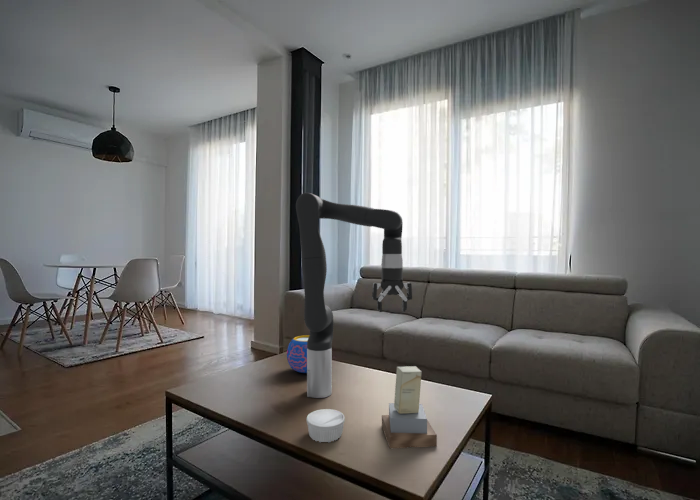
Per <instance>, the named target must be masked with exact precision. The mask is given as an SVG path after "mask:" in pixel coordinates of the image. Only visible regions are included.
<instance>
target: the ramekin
mask: <svg viewBox="0 0 700 500" xmlns="http://www.w3.org/2000/svg"><path fill="white" fill-rule="evenodd" d="M345 420H346V418H345V415H344V414H343V412H341V411H339V410H336V409H332V408H331V409H330V408H325V409H324V408H322V409H317V410H314V411H312V412H310V413H308V415H307V417H306V424H307V429H308V435H309V437H310V438H311V440H313V441H314V440H315V442H317V441H319V442H318V443H321V442H328V443H331V441H333V442H335V441H337V440H339V439H340V438H341V436H342V435H343V430H344V425H345V424H344V423H345ZM338 438H339V439H338ZM334 440H335V441H334Z"/></svg>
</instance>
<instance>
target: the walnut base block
mask: <svg viewBox="0 0 700 500" xmlns="http://www.w3.org/2000/svg"><path fill="white" fill-rule="evenodd" d="M381 427H382V430H383V433H384V435H385V439H386V442H387V444H388V447H389V449H390V448H393V449H407V447H413V448H425V447H427V448H429V447H431V446H432V447H437V445H438V437H437V436H438V435H437V433H436V431H435V429H434V428H433V427H432V425H431V423H430V421H429V420H428V419H427V434H426V433H391V430H390V421H389V414H383V415H381ZM428 446H429V447H428Z"/></svg>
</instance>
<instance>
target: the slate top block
mask: <svg viewBox="0 0 700 500" xmlns="http://www.w3.org/2000/svg"><path fill="white" fill-rule="evenodd" d="M425 411H426V410H425V409H424V406H423V403H419V412H418V413H404V414H399V413H398V412H397V410H396V409H395V408H394V402H389V403H388V415H389V421H390V430H391V433H426V434H427V420H428V418H427V415H426V412H425Z"/></svg>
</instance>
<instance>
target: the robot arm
mask: <svg viewBox="0 0 700 500" xmlns="http://www.w3.org/2000/svg"><path fill="white" fill-rule="evenodd" d="M295 209H296V210H295V211H296V215H297V221H298V227H299V228H298V229H299V236H300V238H299V240H300V258H301V271H302V281H303V291H304V312H303V318H304V319H303V321H304V323H305V327H306V328H307V329H308V330H309V334H308V335H309V338H308V341H307V373H306V397H307V398H313V399H314V398H315V399H324V398H327V397H330V396H331V395H332V393H333V389H332V388H333V387H332V385H333V384H332V383H333V382H332V379H333V378H332V377H333V376H332V375H333V372H332V368H333V367H332V364H333V363H332V361H333V360H332V359H333V358H332V355H333V354H332V352H333V351H332V350H333V349H332V347H333V346H332V343H333V339H334V313H333V311H332V309H331V308H330V306H328V305H326V303H325V292H324V291H325V285H326V280H327V279H326V278H327V273H328V271H327V270H328V269H327V267H328V266H327V265H328V264H327V255H326V249H325V246H324V242H323V239H322V237H321V234H320V228H319V219H320V220H321V219H325V220H327V219H328V220H336V221H341V222H344V223H345V222H346V223H348V224H352V225H353V224H354V225H358V226H363V227H371V228H372V227H373V228H377V229H383V240H382V244H381V245H382V246H381V247H382V251H381V253H382V255H381V265H380V266H381V282H380V283H377V282H373V283H372V290H371V291H372V292H371V298H372V299H373V301H376V309H377V311H378V312H379V313H382V312H383V311H382V310H383V308H382V305H383V301H382V300H383V299H384V298H385V297H386V296H387V295H388V296H391V295H393V296H397V295H398V296H399V297H400V298H401V312H406V311H407V310H408V301H410V300H413V289H412V283H411V282H403V281H404V279H403V276H404V275H403V269H404V268H403V265H404V264H403V243H402V236H403V235H402V234H403V218H402V216H401V215H400V214H399V212H397V211H395V210H391V209H384V208H382V209H381V208H373V207H370V206H363V205H357V204H345V203H338V202H337V203H336V202H332V201H329V200H327V199H324V198H321V197H320V196H318V195H316V194H314V193H310V192H303V193H301V194H300V195H299V196H298V198H297V200H296V203H295ZM379 288H381V289H382V290H381V292H380V294H379V295H378V296H377V294H378V290H379ZM403 288H405V289H406V295H405V294H404V292H403V291H402V290H403Z"/></svg>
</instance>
